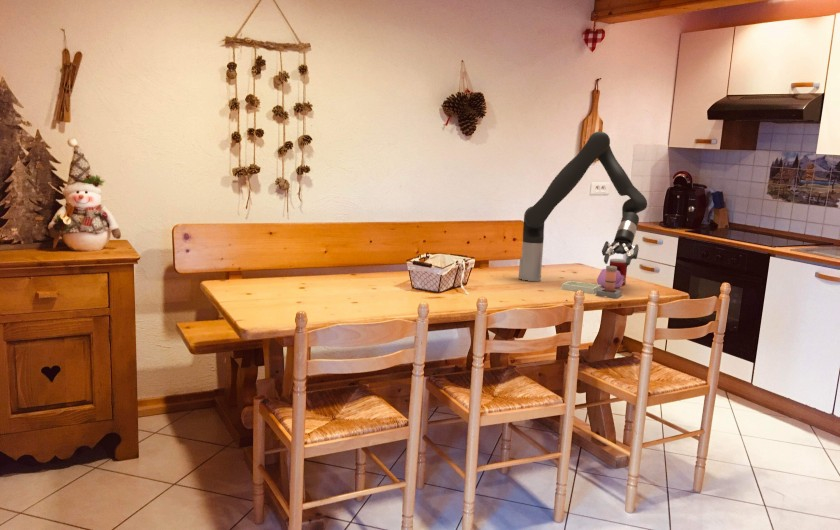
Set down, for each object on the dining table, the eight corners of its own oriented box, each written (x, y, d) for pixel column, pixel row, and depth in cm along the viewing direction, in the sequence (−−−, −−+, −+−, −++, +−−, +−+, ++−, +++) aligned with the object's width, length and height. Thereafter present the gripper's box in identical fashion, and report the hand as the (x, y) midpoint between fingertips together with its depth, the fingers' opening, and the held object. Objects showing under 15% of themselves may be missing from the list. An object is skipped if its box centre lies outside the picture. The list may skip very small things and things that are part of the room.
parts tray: (561, 290, 298) (561, 283, 297) (569, 287, 306) (569, 280, 306) (593, 295, 291) (594, 288, 290) (600, 292, 299) (601, 285, 299)
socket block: (593, 297, 286) (594, 291, 286) (601, 293, 295) (602, 287, 295) (616, 301, 282) (616, 294, 281) (623, 296, 291) (623, 290, 290)
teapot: (609, 284, 317) (611, 264, 315) (631, 291, 303) (633, 270, 302) (590, 285, 313) (592, 264, 311) (611, 292, 299) (613, 271, 298)
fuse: (602, 295, 288) (604, 266, 286) (605, 294, 291) (607, 265, 289) (612, 297, 286) (615, 267, 284) (615, 295, 289) (618, 266, 287)
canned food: (623, 282, 323) (625, 259, 321) (626, 286, 315) (629, 261, 313) (606, 281, 324) (608, 258, 322) (609, 285, 316) (611, 260, 314)
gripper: (607, 226, 300) (597, 256, 292) (641, 229, 293) (632, 260, 285) (610, 238, 306) (600, 267, 298) (643, 241, 299) (634, 271, 291)
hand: (616, 263), depth 291 cm, fingers open, 8 cm apart
